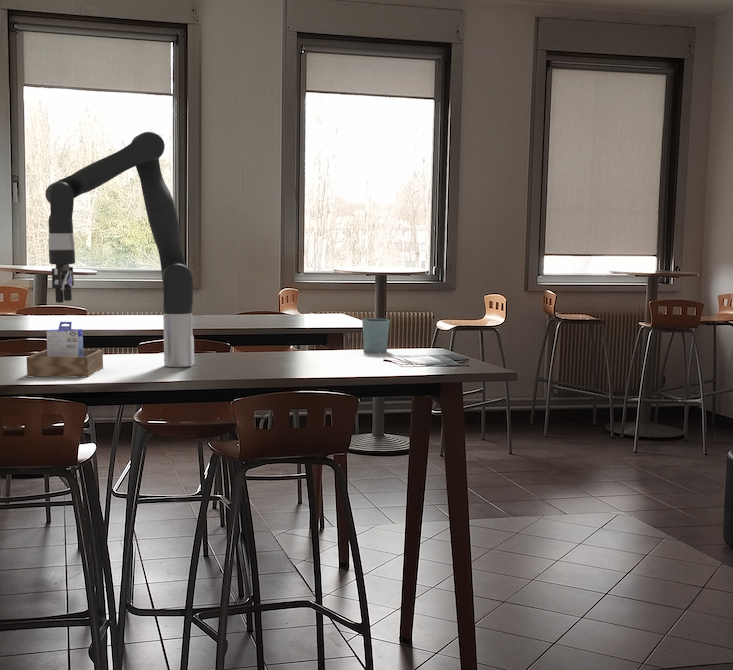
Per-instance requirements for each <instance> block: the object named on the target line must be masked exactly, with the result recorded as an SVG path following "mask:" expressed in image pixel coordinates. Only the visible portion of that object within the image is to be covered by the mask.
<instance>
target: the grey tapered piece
mask: <svg viewBox="0 0 733 670" xmlns="http://www.w3.org/2000/svg"><path fill="white" fill-rule="evenodd" d="M361 322H362V339H363V340H362V341H363V342H362V344H363V353H365V354H385V353H388V341H389V333H390V332H389V331H390V324H391V323H390V322H391V321H390V319H387V318H380V317H379V318H373V317H371V318H368V317H367V318H363V319H362V321H361Z"/></svg>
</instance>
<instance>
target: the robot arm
mask: <svg viewBox="0 0 733 670" xmlns="http://www.w3.org/2000/svg"><path fill="white" fill-rule="evenodd" d="M164 141H165V140H164V139H163V137H162V136H161V135H160V134H158V133H157V132H153V131H144V132H141V133H140V134H138V135H136V136H135V137H134V138H133V139H132V140H131V142H130V143H129V144H128V145H126V146H125V147H124V148H121V149H120V150H118V151H116V152H114V153H112V154H109V155H108V156H105V157H103V158H101V159H98V160H96V161H94V162H92V163H90V164H88V165H86V166H85V167H82V168H80V169H79V170H77V171H76V172H74V173H72V174H70V175H69V176H65V177H64V178H61V179H59V180H57V181H55V182H53V183H51V184H49V185H48V186H47V187H46V190H45V199H46V200H47V202H48V203H49V204H50V205H49V206H50V209H49V210H50V214H49V216H48V243H47V244H48V262H49V265H55V268H53V267H52V268H51V283H52V284H51V287H52V289H54V292H55V293H54V294H55V302H56V303H57V304H62V303H64V302H66V301H67V302H70V301H71V302H72V301H73V300H72V297H73V295H72V294H73V292H72V289H73V286H75V283H74V282H75V281H74V280H75V279H74V267H73V266H70V265H74V264H76V249H75V237H74V225H73V213H74V203H75V201H74V200H75V198H78V196H80V195H83V194H86V193H89V192H91V191H93V190H95V189H96V188H99V187H100V186H103V185H104V184H106V183H108V182H109V181H111V180H113V179H114V178H116V177H118V176H119V175H121V174H123V173H124V172H126V171H128V170H131V169H132V168H134V167H135V169H136V170H137V171H136V172H137V174H138V177H139V181H140V185H141V186H140V187H141V191H142V197H143V202H144V206H145V211H146V215H147V219H148V224H149V228H150V230H151V234H152V236H153V237H152V238H153V239H154V242H155V245H156V248H157V252H158V256H159V262H160V263H159V264H160V270H161V281H162V283H163V284H162V285H163V287H162V288H163V302H162V303H163V305H162V307H163V311H162V312H163V313H162V316H163V358H164V359H163V363H164V365H163V366H164V367H169V368H183V367H184V368H185V367H193V366H194V365H195V337H194V335H193V332H194V331H193V306H194V305H193V304H194V286H193V285H194V283H193V281H194V279H193V274H192V271H191V269H190V268H189V267H188V266H187V263H186V261H185V257H184V255H183V251H182V250H183V249H182V247H181V240H180V239H181V235H180V224H179V218H178V213H177V209H176V204H175V202H174V199H173V196H172V194H171V192H170V190H169V188H168V186H167V184H166V181H165V180H164V177H163V174H162V170H161V165H160V158H161V157H162V155H163V154H164V152H165V142H164Z"/></svg>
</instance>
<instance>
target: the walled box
mask: <svg viewBox="0 0 733 670" xmlns="http://www.w3.org/2000/svg"><path fill="white" fill-rule="evenodd" d="M103 352H104V351H103V349H83V357H47V349H44V350H42V351H39V352H37V353H34V354H31V355H29V356H27V357H26V377H27V376H89V375H91V374H93V373H94V372H96V371H98V370H99V371H101V370H102V368H103V369H104V358H103V357H104V355H103V354H104V353H103ZM100 369H101V370H100ZM99 371H98V372H99ZM96 373H97V372H96ZM94 374H95V373H94ZM94 374H93V375H94ZM91 376H92V375H91ZM89 377H90V376H89Z"/></svg>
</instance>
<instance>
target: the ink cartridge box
mask: <svg viewBox="0 0 733 670" xmlns="http://www.w3.org/2000/svg"><path fill="white" fill-rule="evenodd" d="M72 323H73V322H72V321H59V326H58V329H49V330H46V350H47V357H83V350H84V337H83V336H84V333H83V330H84V329H82V328H74V329H73V328H72ZM63 325H64V326H63Z"/></svg>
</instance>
